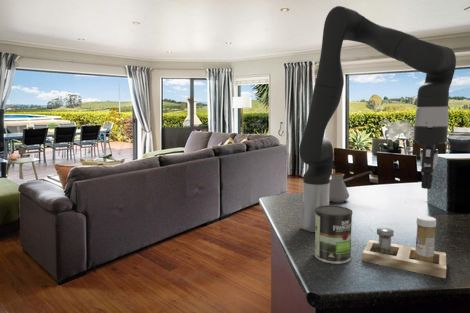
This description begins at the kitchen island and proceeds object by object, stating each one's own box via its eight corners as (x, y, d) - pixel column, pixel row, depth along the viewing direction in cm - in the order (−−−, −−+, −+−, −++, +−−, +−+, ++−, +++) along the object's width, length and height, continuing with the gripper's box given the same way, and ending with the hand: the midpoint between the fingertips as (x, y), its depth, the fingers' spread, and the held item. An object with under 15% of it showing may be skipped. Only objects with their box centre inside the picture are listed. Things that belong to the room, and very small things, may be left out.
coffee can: (358, 259, 94) (360, 212, 92) (330, 267, 90) (331, 217, 88) (334, 247, 103) (335, 203, 102) (307, 253, 99) (307, 207, 97)
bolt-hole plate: (362, 260, 93) (362, 252, 93) (369, 247, 102) (369, 239, 102) (445, 278, 83) (446, 269, 82) (445, 261, 92) (445, 253, 92)
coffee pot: (323, 202, 155) (323, 171, 153) (325, 196, 165) (325, 167, 164) (372, 206, 148) (373, 173, 146) (370, 199, 158) (371, 169, 157)
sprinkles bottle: (410, 262, 92) (413, 215, 90) (425, 261, 92) (428, 214, 91) (421, 269, 88) (424, 220, 86) (437, 268, 88) (440, 220, 86)
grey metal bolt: (374, 258, 95) (375, 231, 94) (377, 253, 98) (378, 226, 97) (391, 262, 92) (392, 233, 91) (393, 256, 96) (394, 229, 95)
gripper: (416, 123, 94) (413, 179, 96) (412, 125, 82) (408, 189, 84) (447, 123, 90) (443, 181, 92) (448, 125, 78) (443, 192, 80)
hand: (426, 185), depth 88 cm, fingers open, 8 cm apart
